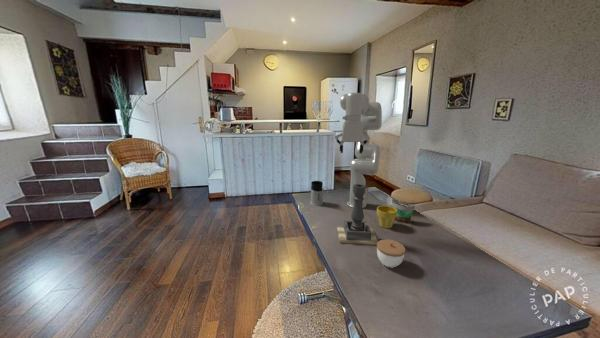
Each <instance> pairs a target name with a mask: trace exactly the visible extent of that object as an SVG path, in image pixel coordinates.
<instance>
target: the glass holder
mask: <svg viewBox="0 0 600 338" xmlns="http://www.w3.org/2000/svg"><path fill="white" fill-rule="evenodd" d="M310 183H311V185H310V203H309V204H310V205H311V206H314V207H316V206H317V207H319V206H322V205H323V204H324V202H323V201H324V200H325V199H327V197H328V195H329V189H328V187H327V186H323V185H324V184H323V181H321V180H313V181H311V182H310ZM325 188H326V191H327V192H326V195H325V197H324V198H323V192H324V189H325Z"/></svg>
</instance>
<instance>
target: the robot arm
mask: <svg viewBox="0 0 600 338" xmlns="http://www.w3.org/2000/svg"><path fill="white" fill-rule="evenodd" d="M339 104H340V105H339V106H340V107H341V109H342V110H343V111H345V116H342V120H344V121H343V124H342V131H341V132H340V133H339V134H337V135H335V136H334V139H335V141H336V143H338V145H339V152H340V153H341V154H343V153H344V143H355V150H354V155H355V157H356V158H354V159H352V160H351V161H350V163H349V167H350V169H349V170H350V184H349V185H350V186H349V187H350V188H349V200H348V201H347V202H346V204H347V206H348V207H350V208H352V209H353V208H354V199H353V197H354V192H353V185H355V184H362V185H365V186H366V178H365V176H364V175H368V176H375V175H377V174H378V172H379V166H380V159H381V158H380V157H381V147H380V146H379V145H378V144H375V143H374V144H373V143H370V141H371V137H370V135H369V134H368V132H366V131H379V130H380V129H381V127H382V121H383V120H382V118H383V117H382V116H383V115H382V112H383V111H382V105H381V103H380V102H378V101H372V102H371V101H370V99H369V96H368V95H367V94H366V93H361V92H349V93H344V94H343V95H341V97H340V101H339ZM340 138H341V140H339V139H340ZM365 195H366V192H365V193H364V195H363V197H364V198H365ZM366 207H367V203H366V202H365V199H364V200H363V202H362V208H363V209H364V208H366Z"/></svg>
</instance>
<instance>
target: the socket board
mask: <svg viewBox="0 0 600 338" xmlns="http://www.w3.org/2000/svg"><path fill="white" fill-rule="evenodd" d="M352 222H353V220H344V221H343V226H337V229H336V230H337V235H338V241H339V243H340V244H355V245H356V244H360V245H377V243H378V242H379V240H378V238H377V236H376V234H375V231H374V229H373V228H371V227H369V224H368V223H367V221H362V222H361V223H362V224H363V231H350V228H351V223H352Z"/></svg>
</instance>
